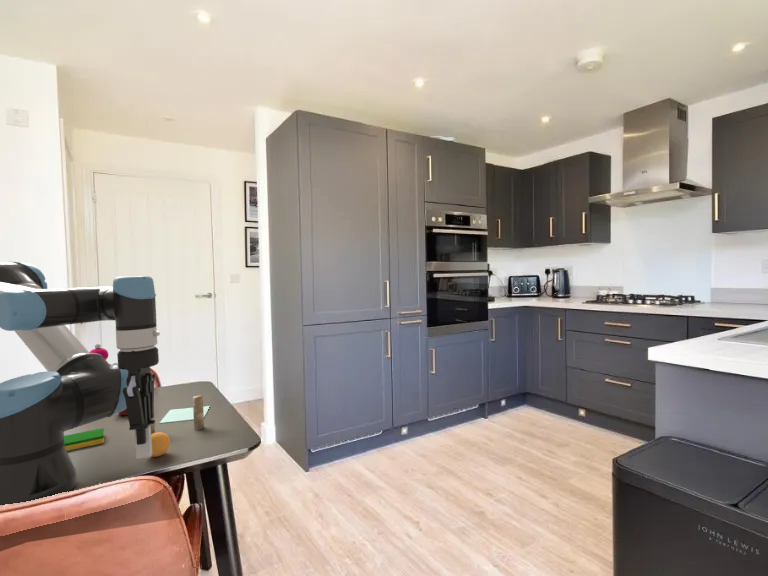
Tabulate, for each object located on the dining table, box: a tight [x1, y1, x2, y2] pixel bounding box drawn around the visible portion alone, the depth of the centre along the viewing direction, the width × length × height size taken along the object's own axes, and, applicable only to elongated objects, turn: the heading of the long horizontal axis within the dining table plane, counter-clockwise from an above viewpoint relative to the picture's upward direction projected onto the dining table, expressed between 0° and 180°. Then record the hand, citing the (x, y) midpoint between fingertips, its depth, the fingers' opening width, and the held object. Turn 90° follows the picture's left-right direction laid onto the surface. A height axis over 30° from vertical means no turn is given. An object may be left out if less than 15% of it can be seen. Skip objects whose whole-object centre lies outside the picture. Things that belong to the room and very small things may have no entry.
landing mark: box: [159, 405, 211, 424], centre depth 128 cm, size 12×12×1 cm
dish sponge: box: [64, 427, 105, 452], centre depth 106 cm, size 7×14×2 cm, turn 125°
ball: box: [151, 431, 171, 458], centre depth 98 cm, size 6×6×6 cm
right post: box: [192, 394, 205, 431], centre depth 115 cm, size 3×3×9 cm
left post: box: [149, 416, 156, 434], centre depth 112 cm, size 3×3×9 cm
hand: (144, 456), depth 89 cm, fingers closed
